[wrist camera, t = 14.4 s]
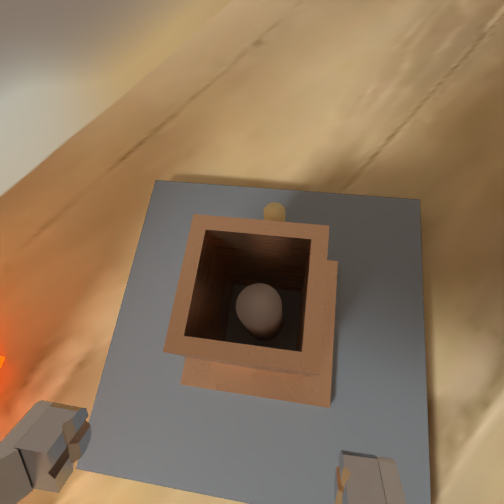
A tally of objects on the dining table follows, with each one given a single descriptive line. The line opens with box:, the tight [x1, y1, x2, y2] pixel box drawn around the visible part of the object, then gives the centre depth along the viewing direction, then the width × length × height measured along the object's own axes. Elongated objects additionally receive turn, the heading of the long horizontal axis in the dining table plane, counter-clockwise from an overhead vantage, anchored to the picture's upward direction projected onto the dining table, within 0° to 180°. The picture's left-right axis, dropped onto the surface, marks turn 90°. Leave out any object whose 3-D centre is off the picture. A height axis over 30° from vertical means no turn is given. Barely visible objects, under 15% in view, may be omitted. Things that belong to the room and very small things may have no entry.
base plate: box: [76, 180, 431, 504], centre depth 20 cm, size 20×20×6 cm
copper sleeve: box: [163, 214, 338, 408], centre depth 18 cm, size 9×9×9 cm
